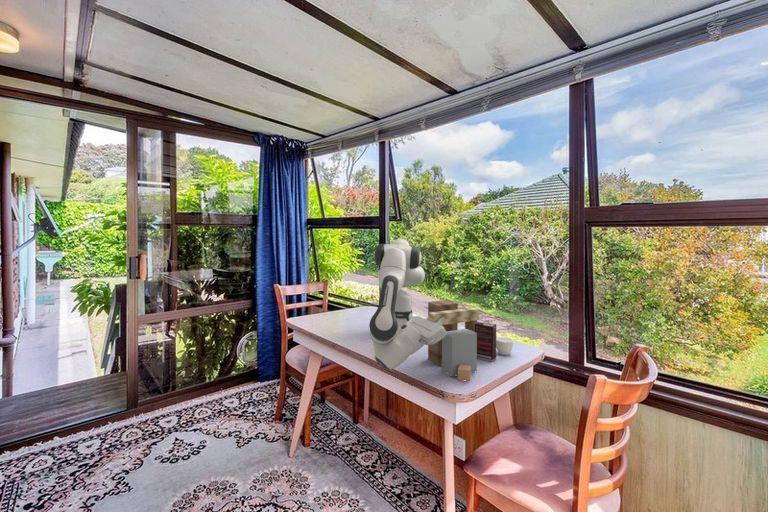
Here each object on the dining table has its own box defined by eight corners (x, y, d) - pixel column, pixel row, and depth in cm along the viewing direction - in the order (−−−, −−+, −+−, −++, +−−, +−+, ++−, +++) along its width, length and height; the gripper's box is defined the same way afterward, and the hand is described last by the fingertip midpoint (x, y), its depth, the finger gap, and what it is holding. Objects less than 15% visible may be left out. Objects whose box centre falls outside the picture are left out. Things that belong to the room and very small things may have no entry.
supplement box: (496, 359, 148) (497, 324, 147) (492, 362, 144) (493, 326, 143) (478, 354, 153) (478, 321, 152) (473, 357, 149) (474, 323, 148)
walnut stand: (437, 365, 140) (438, 305, 139) (428, 359, 148) (428, 302, 146) (457, 362, 144) (457, 303, 143) (446, 355, 152) (447, 300, 150)
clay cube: (457, 380, 127) (457, 368, 126) (459, 375, 131) (459, 364, 131) (469, 382, 125) (469, 370, 125) (471, 377, 129) (471, 366, 129)
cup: (494, 355, 153) (494, 340, 152) (497, 348, 161) (497, 334, 161) (511, 357, 149) (512, 343, 149) (514, 350, 158) (514, 337, 157)
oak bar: (433, 326, 127) (433, 314, 126) (428, 323, 130) (428, 312, 130) (479, 320, 135) (479, 309, 135) (473, 318, 139) (473, 307, 138)
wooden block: (468, 352, 157) (468, 314, 155) (459, 349, 160) (460, 313, 158) (477, 347, 163) (477, 311, 162) (468, 345, 166) (469, 310, 165)
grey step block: (452, 376, 130) (452, 336, 129) (441, 370, 136) (442, 332, 135) (476, 371, 134) (476, 333, 133) (465, 365, 141) (465, 328, 140)
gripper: (424, 339, 115) (452, 316, 120) (398, 325, 134) (423, 305, 138) (431, 353, 117) (459, 329, 121) (405, 337, 135) (430, 317, 140)
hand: (440, 316), depth 130 cm, fingers closed on oak bar, 3 cm apart
